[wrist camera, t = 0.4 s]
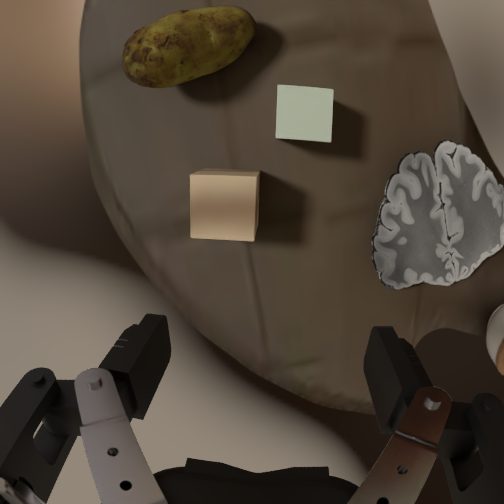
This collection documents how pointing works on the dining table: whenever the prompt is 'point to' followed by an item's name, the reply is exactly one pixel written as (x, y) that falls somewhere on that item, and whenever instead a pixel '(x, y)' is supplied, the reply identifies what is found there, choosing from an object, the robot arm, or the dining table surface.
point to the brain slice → (438, 218)
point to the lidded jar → (496, 338)
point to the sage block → (304, 113)
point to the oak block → (224, 204)
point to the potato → (187, 45)
